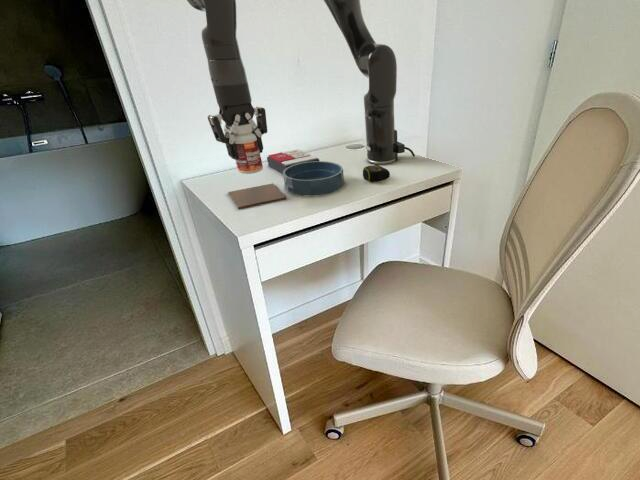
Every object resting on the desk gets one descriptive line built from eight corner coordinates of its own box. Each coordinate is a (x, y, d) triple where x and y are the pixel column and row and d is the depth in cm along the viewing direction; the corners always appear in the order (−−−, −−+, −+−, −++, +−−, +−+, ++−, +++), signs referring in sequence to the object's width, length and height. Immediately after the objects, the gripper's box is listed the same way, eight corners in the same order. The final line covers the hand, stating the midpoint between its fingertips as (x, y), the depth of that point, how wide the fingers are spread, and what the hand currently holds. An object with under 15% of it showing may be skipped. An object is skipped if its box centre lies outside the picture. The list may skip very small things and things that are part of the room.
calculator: (297, 148, 128) (319, 156, 118) (300, 161, 130) (321, 170, 120) (265, 154, 122) (285, 163, 112) (268, 168, 125) (288, 178, 114)
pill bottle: (253, 175, 96) (242, 127, 90) (232, 173, 98) (220, 126, 91) (268, 167, 101) (258, 122, 95) (248, 165, 103) (237, 120, 96)
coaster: (272, 185, 110) (272, 183, 110) (286, 199, 102) (285, 197, 102) (228, 194, 105) (228, 191, 105) (238, 209, 97) (238, 207, 96)
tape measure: (391, 181, 113) (390, 168, 110) (370, 186, 109) (369, 173, 107) (379, 174, 117) (378, 162, 115) (359, 179, 114) (358, 166, 112)
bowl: (330, 172, 119) (329, 157, 116) (353, 189, 108) (352, 173, 105) (278, 182, 112) (275, 167, 109) (297, 201, 101) (294, 184, 98)
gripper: (208, 86, 81) (229, 165, 91) (266, 79, 91) (280, 151, 100) (190, 83, 85) (212, 159, 94) (248, 76, 94) (263, 146, 104)
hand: (247, 155), depth 97 cm, fingers closed on pill bottle, 6 cm apart
